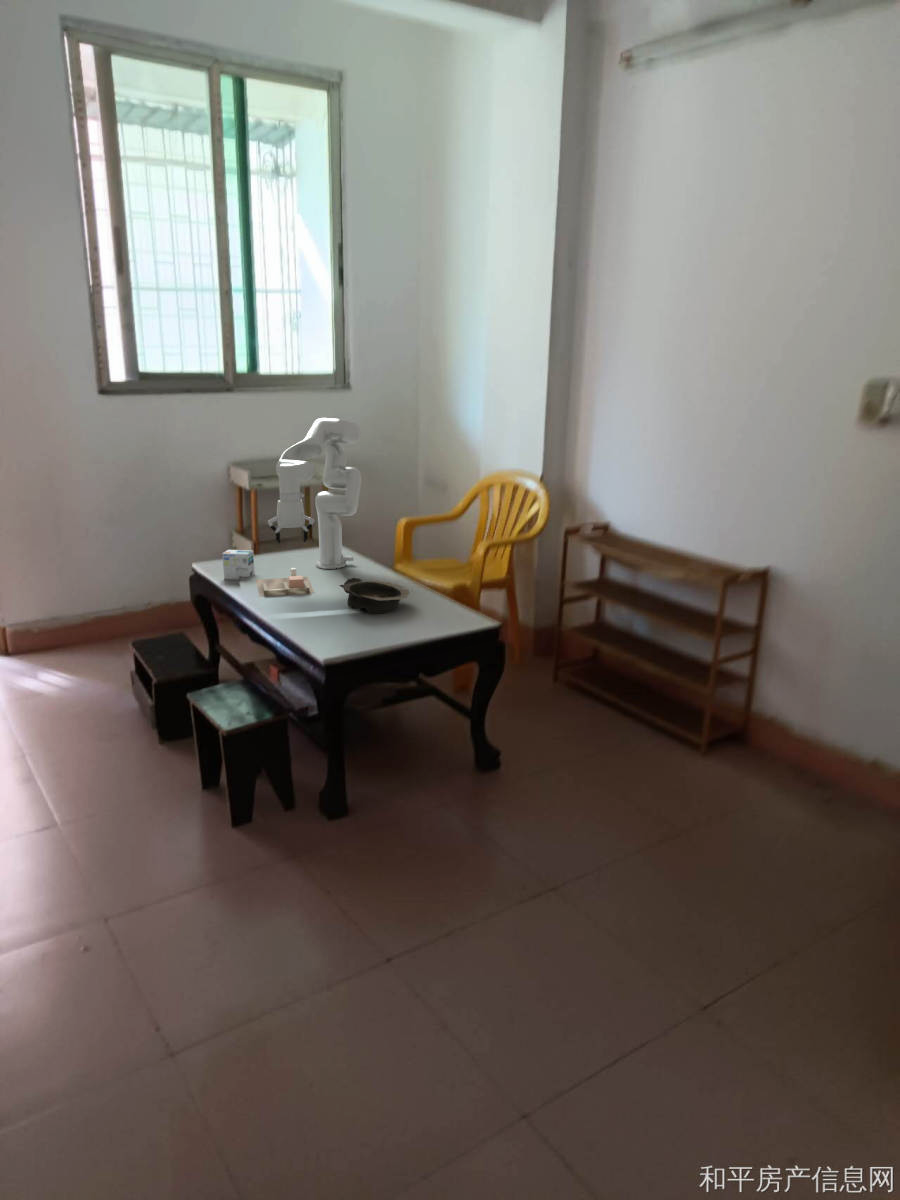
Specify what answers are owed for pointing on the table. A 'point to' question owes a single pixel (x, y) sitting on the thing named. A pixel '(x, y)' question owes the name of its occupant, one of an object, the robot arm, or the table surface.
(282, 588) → the lane shelf
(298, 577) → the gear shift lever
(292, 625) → the table surface
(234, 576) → the light bulb box
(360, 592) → the stone bowl
